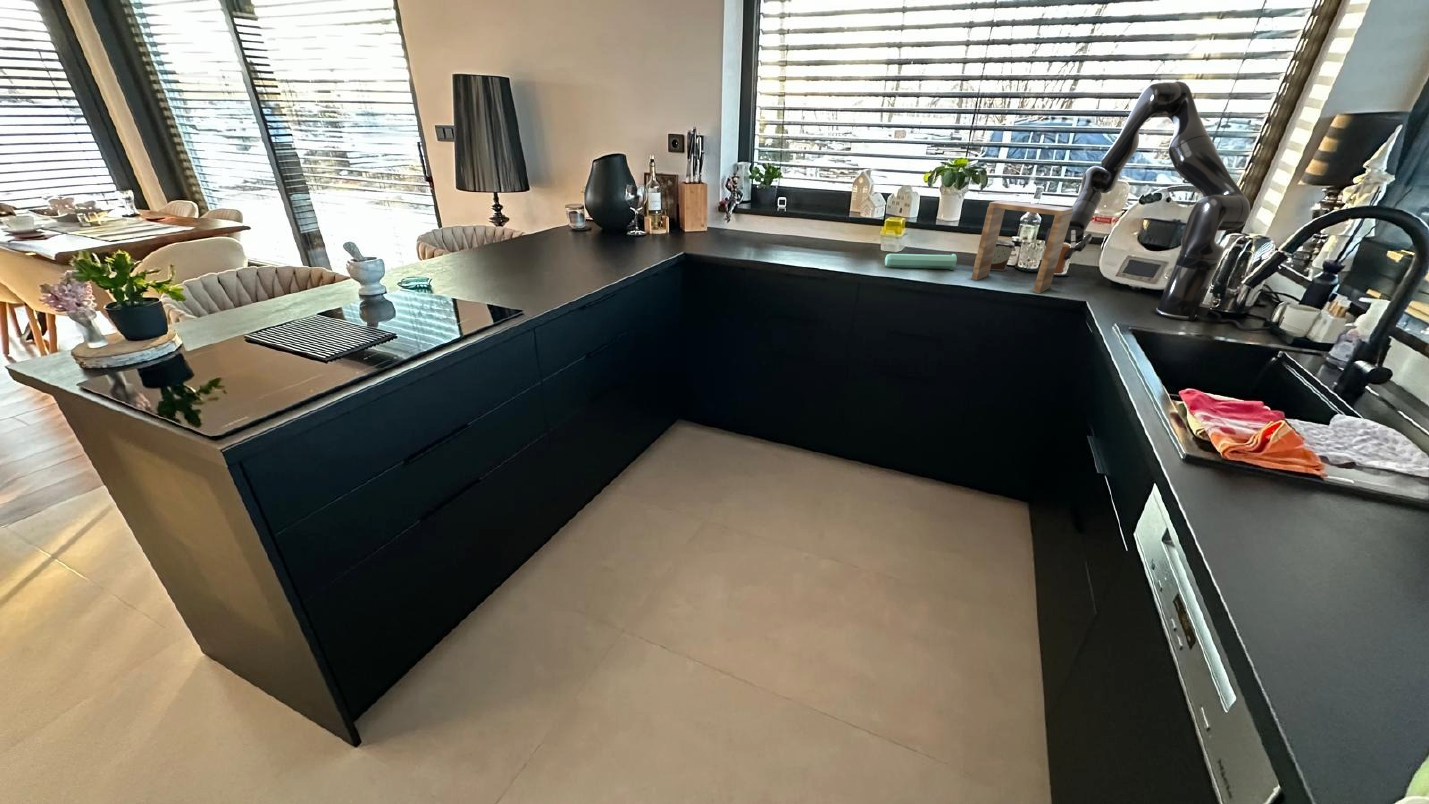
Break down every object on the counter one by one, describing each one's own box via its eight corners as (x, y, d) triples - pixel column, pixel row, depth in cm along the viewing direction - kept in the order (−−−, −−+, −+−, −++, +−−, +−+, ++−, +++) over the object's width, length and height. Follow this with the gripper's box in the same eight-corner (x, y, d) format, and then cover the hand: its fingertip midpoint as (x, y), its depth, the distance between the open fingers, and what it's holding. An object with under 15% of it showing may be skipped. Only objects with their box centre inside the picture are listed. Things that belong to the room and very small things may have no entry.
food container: (1002, 266, 211) (1009, 239, 207) (1008, 270, 206) (1016, 243, 201) (969, 265, 212) (975, 238, 208) (974, 269, 207) (981, 241, 202)
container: (887, 250, 203) (957, 252, 201) (883, 253, 209) (951, 255, 207) (886, 267, 204) (956, 268, 202) (882, 269, 209) (950, 271, 208)
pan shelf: (1049, 288, 186) (1074, 208, 174) (1039, 293, 179) (1063, 210, 168) (982, 274, 200) (1001, 199, 188) (970, 279, 193) (989, 202, 182)
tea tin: (1064, 271, 193) (1072, 245, 189) (1059, 274, 190) (1067, 247, 185) (1048, 269, 196) (1056, 243, 192) (1043, 271, 193) (1050, 245, 189)
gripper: (1055, 207, 193) (1033, 247, 191) (1102, 212, 184) (1079, 254, 182) (1056, 221, 199) (1034, 260, 197) (1102, 227, 190) (1079, 268, 188)
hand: (1056, 257), depth 189 cm, fingers closed on tea tin, 5 cm apart
